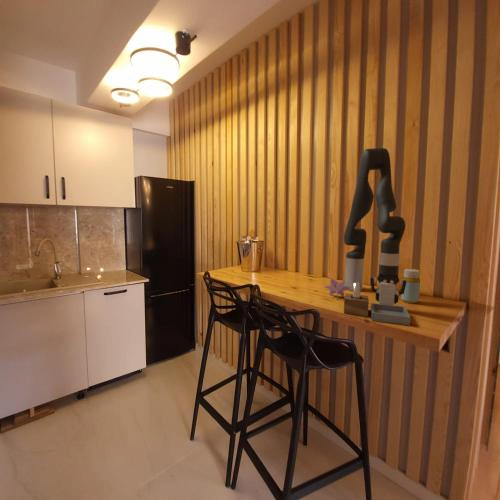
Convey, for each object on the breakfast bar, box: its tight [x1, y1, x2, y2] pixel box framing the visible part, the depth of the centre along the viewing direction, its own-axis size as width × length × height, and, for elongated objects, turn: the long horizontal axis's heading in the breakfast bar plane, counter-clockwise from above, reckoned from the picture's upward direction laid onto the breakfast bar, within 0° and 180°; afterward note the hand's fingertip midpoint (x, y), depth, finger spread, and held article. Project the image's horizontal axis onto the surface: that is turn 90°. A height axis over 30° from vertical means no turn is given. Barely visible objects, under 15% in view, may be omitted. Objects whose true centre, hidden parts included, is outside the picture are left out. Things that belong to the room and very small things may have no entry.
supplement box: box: [378, 282, 396, 306], centre depth 118 cm, size 6×6×12 cm
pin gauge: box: [352, 282, 361, 299], centre depth 113 cm, size 3×3×12 cm
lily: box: [323, 277, 353, 301], centre depth 133 cm, size 12×12×10 cm
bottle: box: [400, 268, 421, 305], centre depth 127 cm, size 7×7×15 cm
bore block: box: [343, 293, 370, 317], centre depth 113 cm, size 9×9×6 cm
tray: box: [370, 302, 411, 326], centre depth 107 cm, size 14×13×3 cm
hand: (386, 302), depth 118 cm, fingers closed on supplement box, 6 cm apart
